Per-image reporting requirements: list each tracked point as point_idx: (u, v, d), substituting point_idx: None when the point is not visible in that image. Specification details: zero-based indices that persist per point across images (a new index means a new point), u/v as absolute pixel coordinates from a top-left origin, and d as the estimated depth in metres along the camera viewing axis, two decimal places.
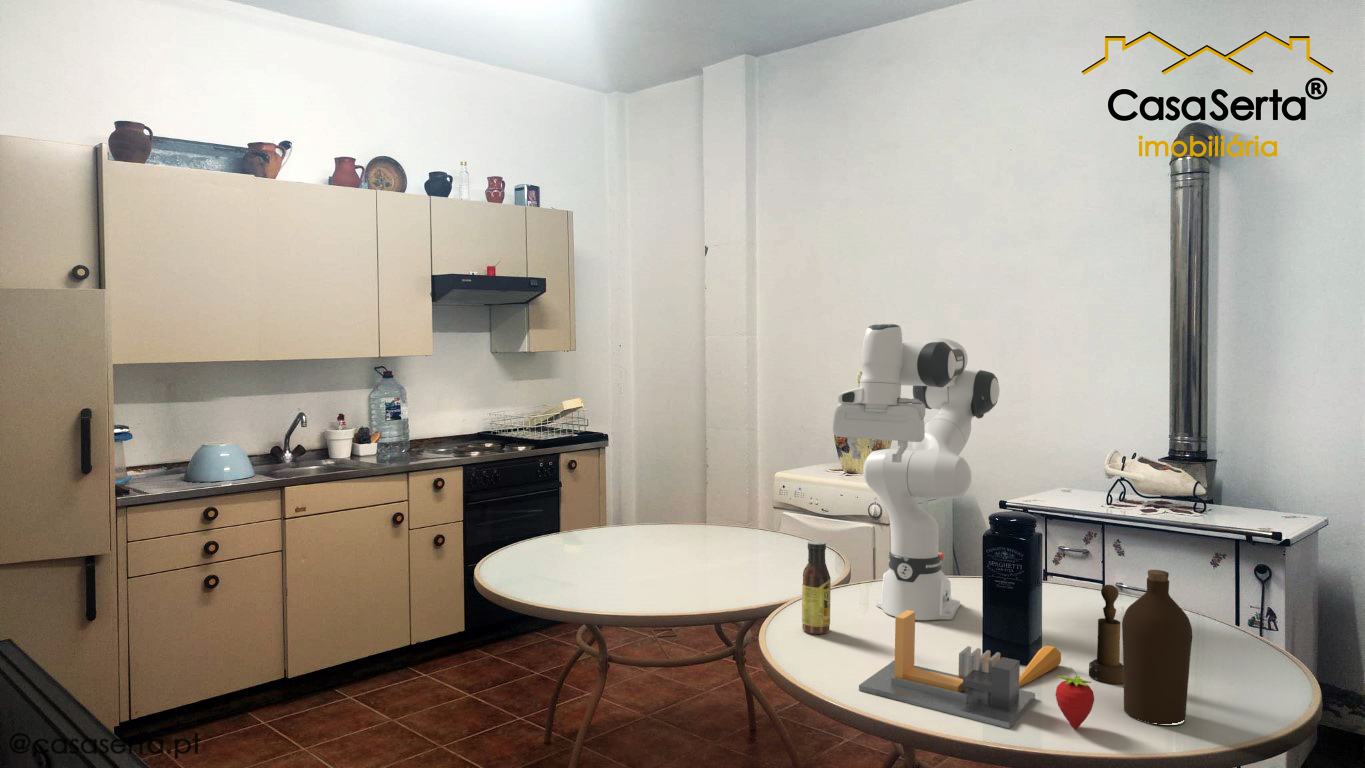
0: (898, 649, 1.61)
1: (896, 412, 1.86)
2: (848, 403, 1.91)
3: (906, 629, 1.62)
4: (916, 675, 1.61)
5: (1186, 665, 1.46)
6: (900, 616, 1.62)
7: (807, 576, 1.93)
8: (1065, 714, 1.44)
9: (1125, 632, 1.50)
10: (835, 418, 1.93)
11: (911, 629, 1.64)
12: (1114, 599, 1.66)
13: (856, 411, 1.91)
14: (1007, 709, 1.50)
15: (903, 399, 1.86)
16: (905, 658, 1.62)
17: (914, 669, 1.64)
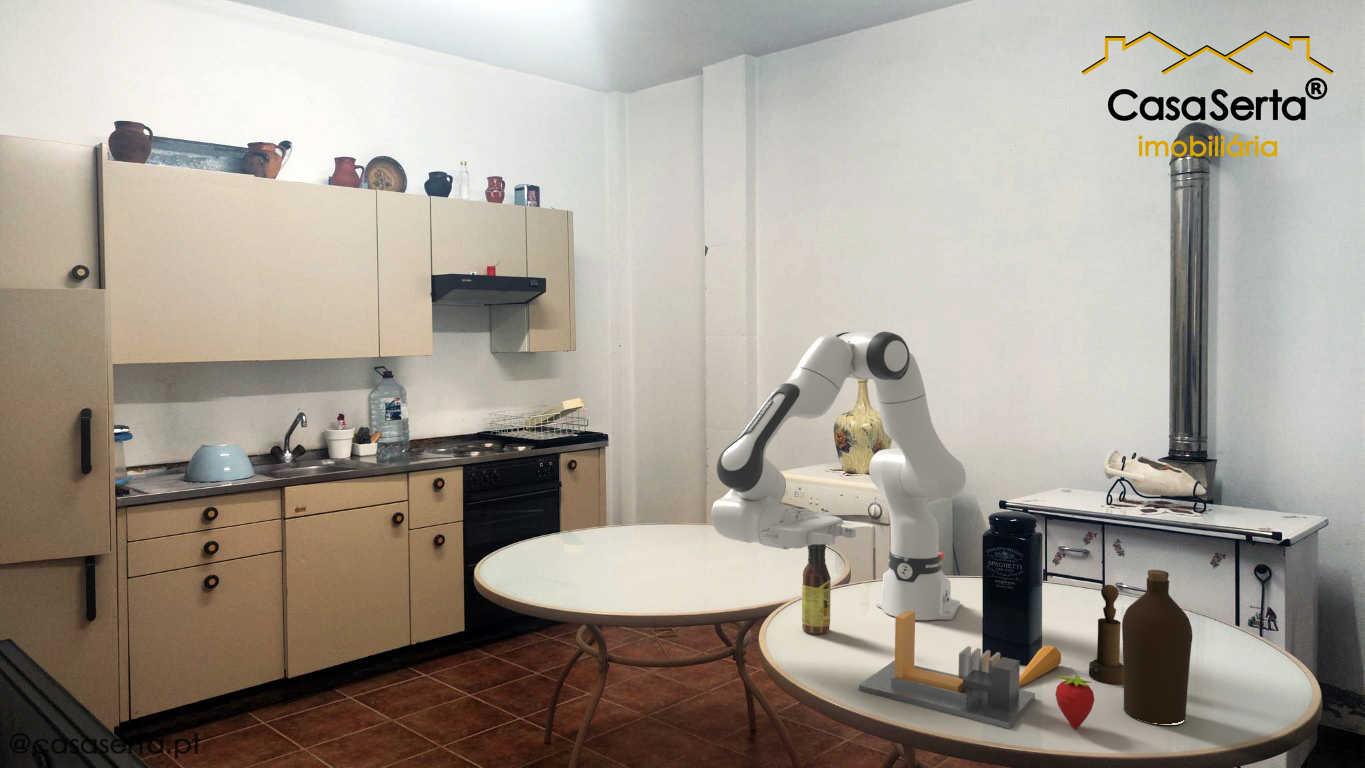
0: (898, 649, 1.61)
1: None
2: None
3: (906, 629, 1.62)
4: (916, 675, 1.61)
5: (1186, 665, 1.46)
6: (900, 616, 1.62)
7: (807, 576, 1.93)
8: (1065, 714, 1.44)
9: (1125, 632, 1.50)
10: None
11: (911, 629, 1.64)
12: (1114, 599, 1.66)
13: None
14: (1007, 709, 1.50)
15: None
16: (905, 658, 1.62)
17: (914, 669, 1.64)
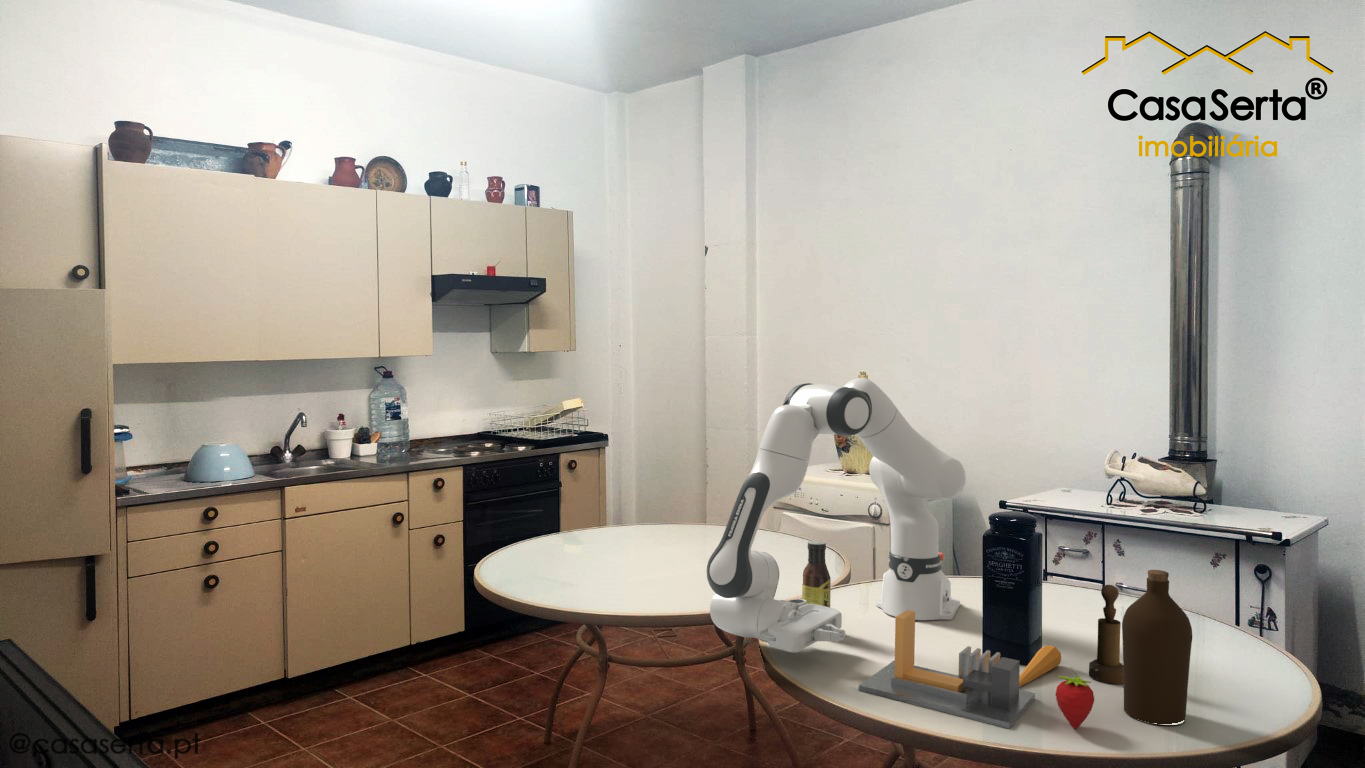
0: (898, 649, 1.61)
1: None
2: None
3: (906, 629, 1.62)
4: (916, 675, 1.61)
5: (1186, 665, 1.46)
6: (900, 616, 1.62)
7: (807, 576, 1.93)
8: (1065, 714, 1.44)
9: (1125, 632, 1.50)
10: None
11: (911, 629, 1.64)
12: (1114, 599, 1.66)
13: None
14: (1007, 709, 1.50)
15: None
16: (905, 658, 1.62)
17: (914, 669, 1.64)
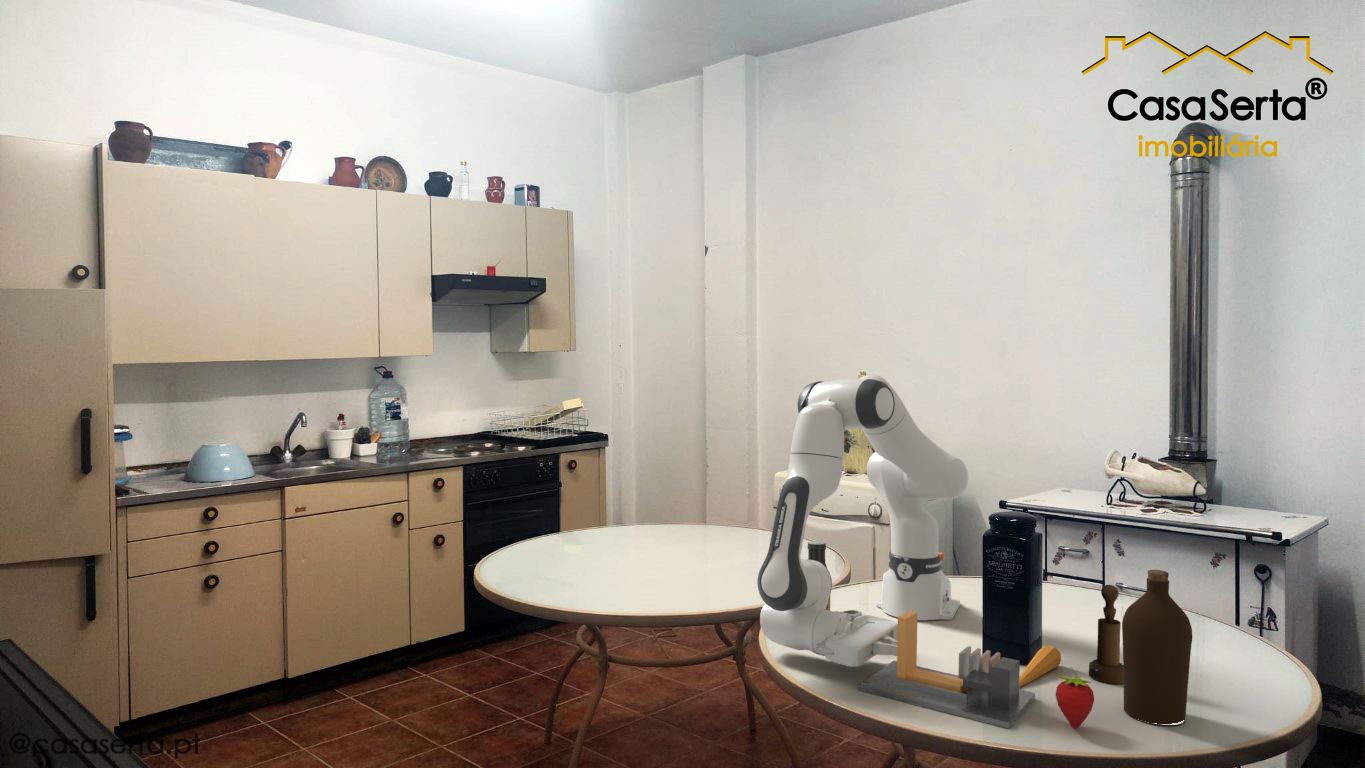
0: (900, 650, 1.61)
1: None
2: None
3: (908, 629, 1.61)
4: (918, 676, 1.61)
5: (1186, 665, 1.46)
6: (902, 616, 1.62)
7: None
8: (1065, 714, 1.44)
9: (1125, 632, 1.50)
10: None
11: (913, 630, 1.64)
12: (1114, 599, 1.66)
13: None
14: (1007, 709, 1.50)
15: None
16: (907, 659, 1.61)
17: (916, 670, 1.64)
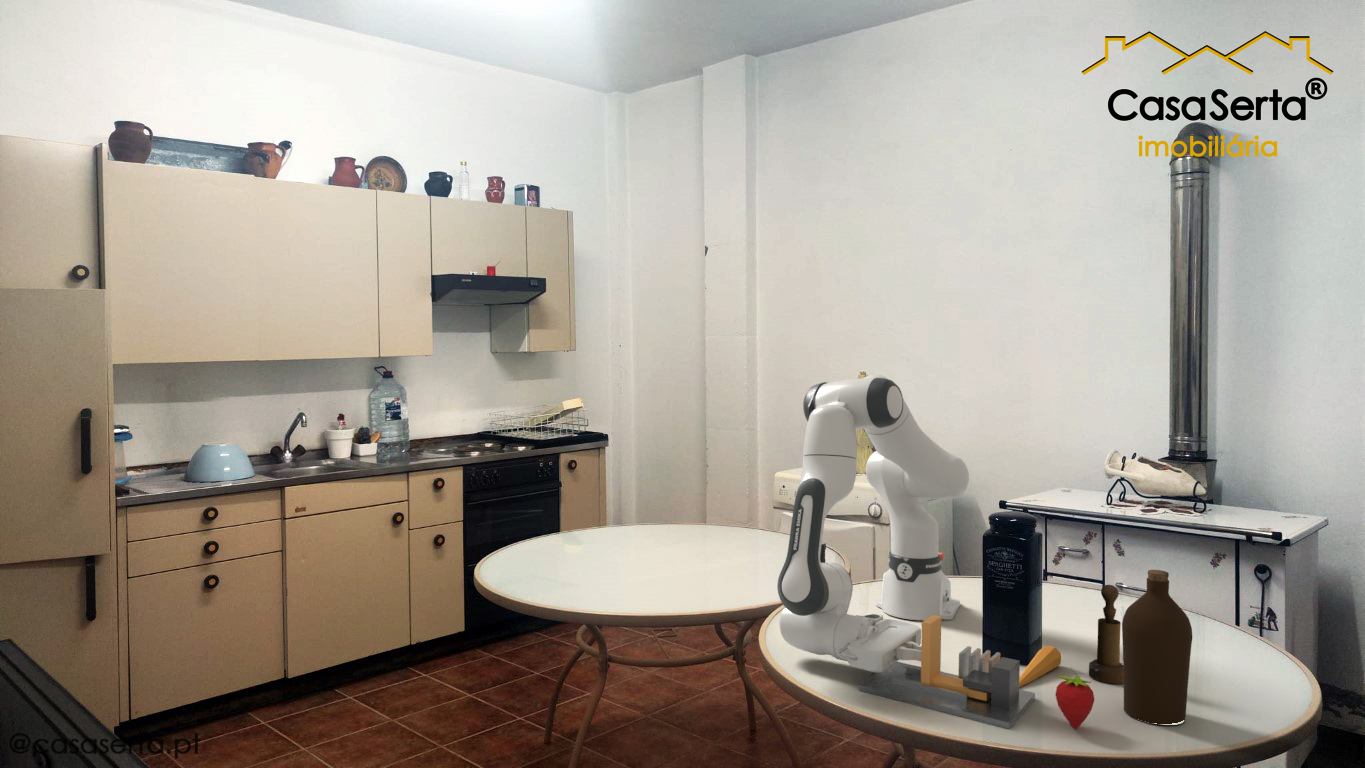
0: (925, 655, 1.58)
1: None
2: None
3: (932, 634, 1.59)
4: (943, 681, 1.58)
5: (1186, 665, 1.46)
6: (926, 621, 1.59)
7: None
8: (1065, 714, 1.44)
9: (1125, 632, 1.50)
10: None
11: (937, 635, 1.61)
12: (1114, 599, 1.66)
13: None
14: (1007, 709, 1.50)
15: None
16: (931, 664, 1.59)
17: (940, 675, 1.61)
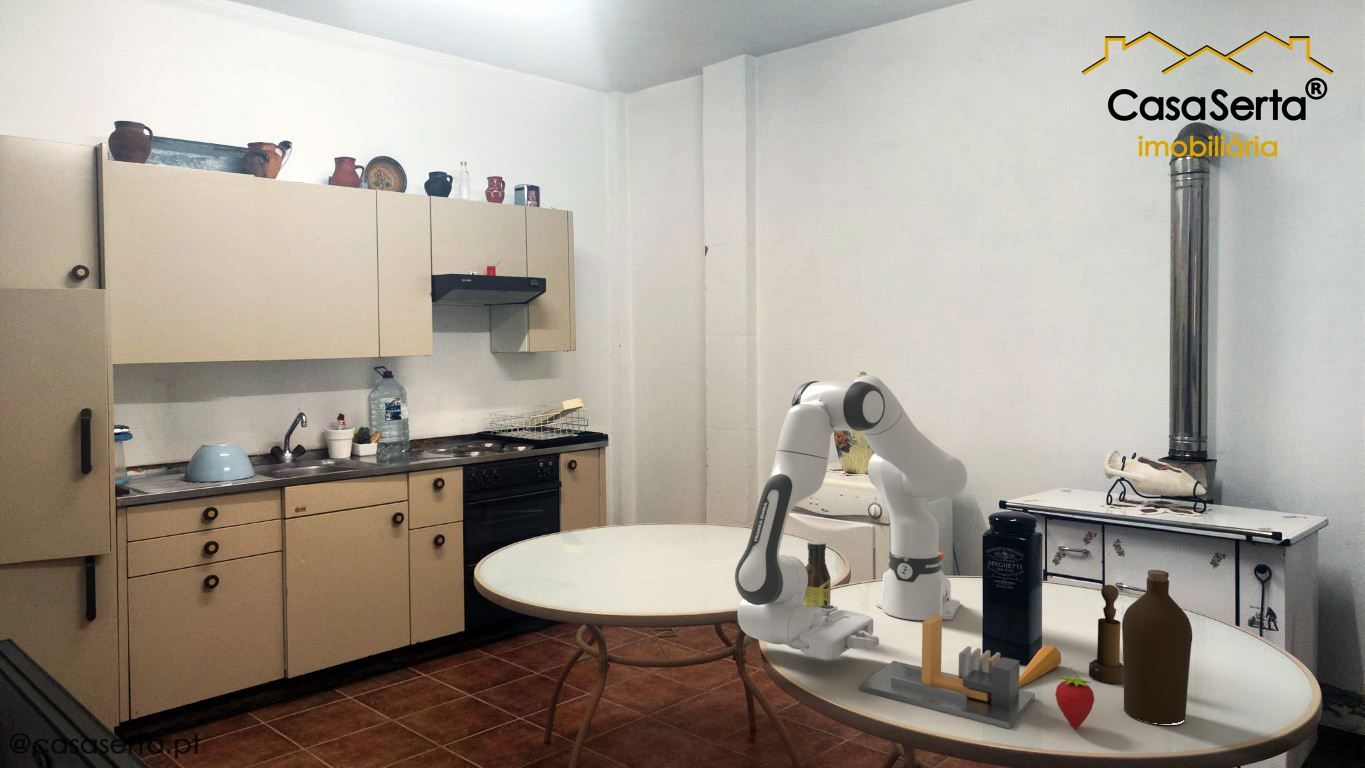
0: (925, 655, 1.58)
1: None
2: None
3: (933, 634, 1.59)
4: (944, 681, 1.58)
5: (1186, 665, 1.46)
6: (927, 621, 1.59)
7: None
8: (1065, 714, 1.44)
9: (1125, 632, 1.50)
10: None
11: (938, 635, 1.61)
12: (1114, 599, 1.66)
13: None
14: (1007, 709, 1.50)
15: None
16: (932, 664, 1.59)
17: (941, 675, 1.61)
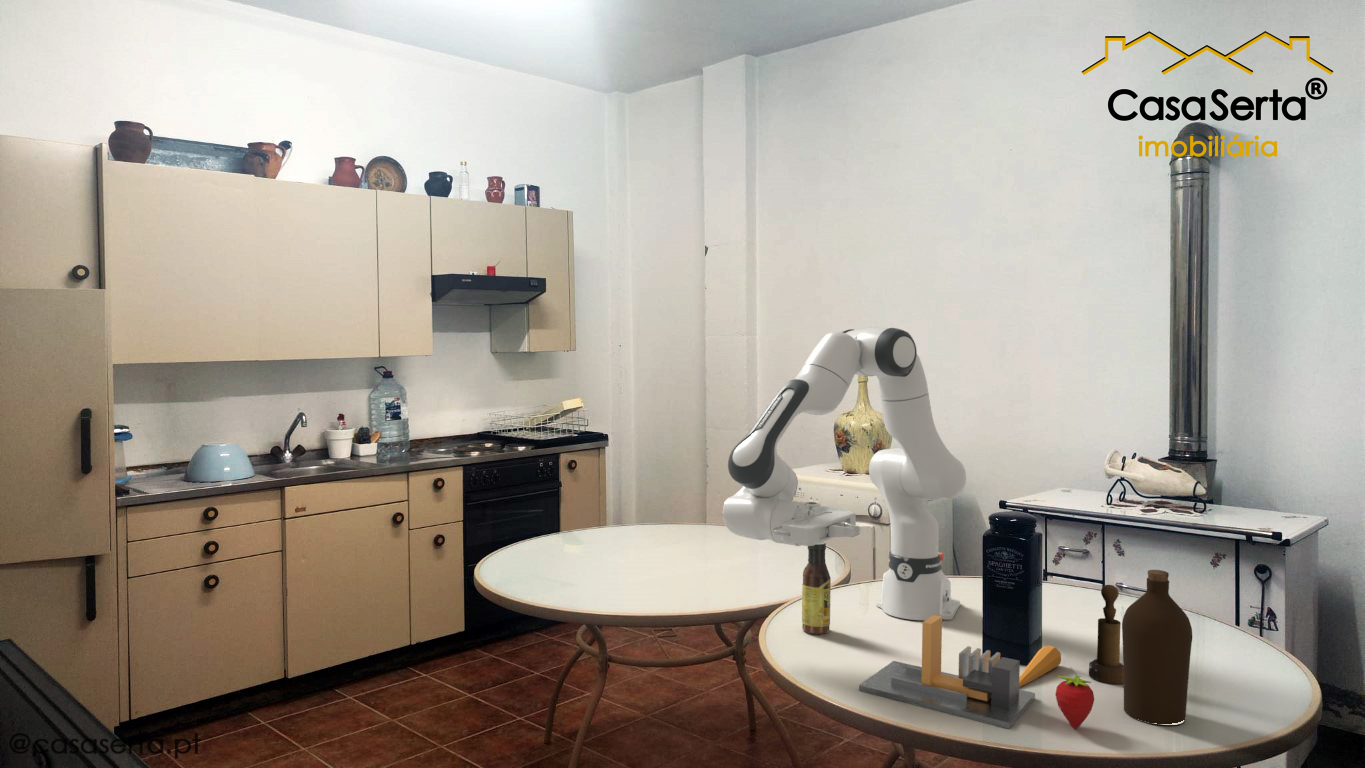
0: (925, 655, 1.58)
1: None
2: None
3: (933, 634, 1.59)
4: (944, 681, 1.58)
5: (1186, 665, 1.46)
6: (927, 621, 1.59)
7: (807, 576, 1.93)
8: (1065, 714, 1.44)
9: (1125, 632, 1.50)
10: None
11: (938, 635, 1.61)
12: (1114, 599, 1.66)
13: None
14: (1007, 709, 1.50)
15: None
16: (932, 664, 1.59)
17: (941, 675, 1.61)
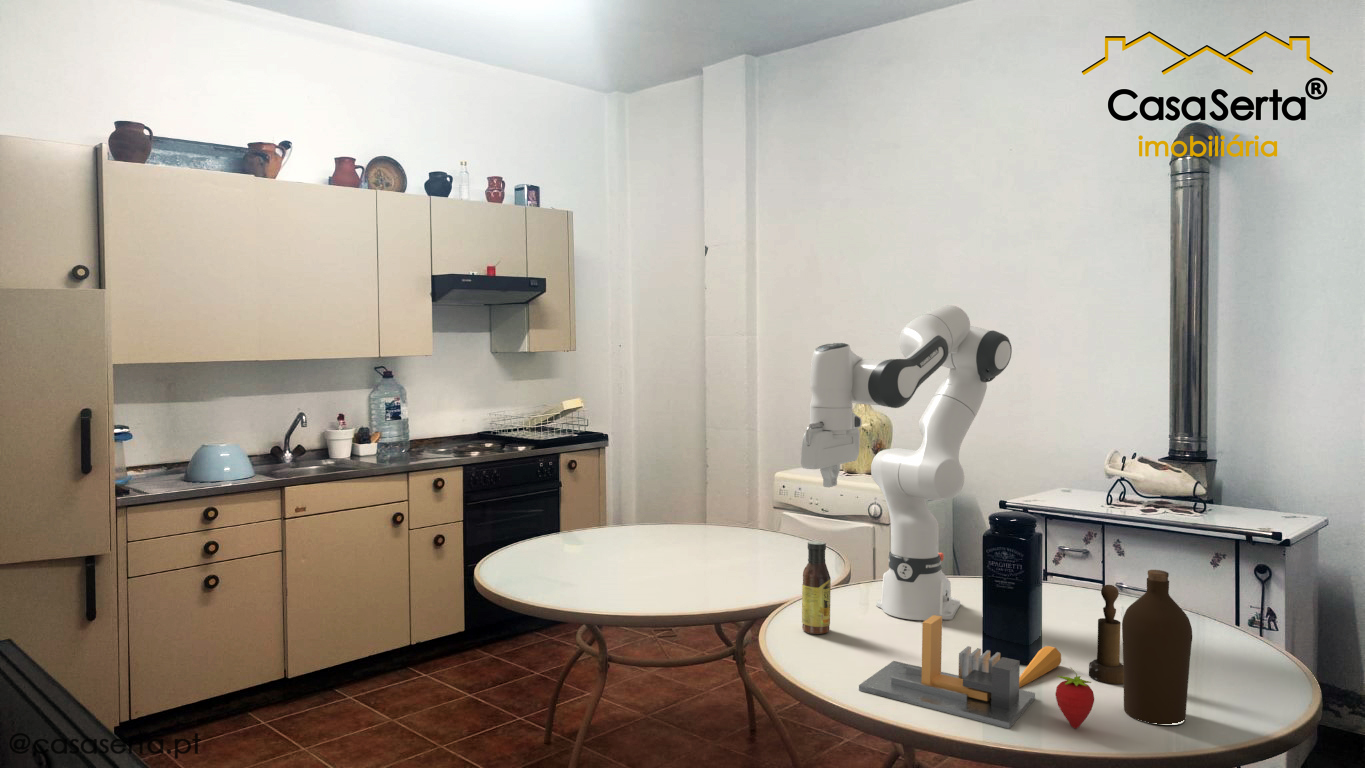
0: (925, 655, 1.58)
1: None
2: None
3: (933, 634, 1.59)
4: (944, 681, 1.58)
5: (1186, 665, 1.46)
6: (927, 621, 1.59)
7: (807, 576, 1.93)
8: (1065, 714, 1.44)
9: (1125, 632, 1.50)
10: None
11: (938, 635, 1.61)
12: (1114, 599, 1.66)
13: None
14: (1007, 709, 1.50)
15: None
16: (932, 664, 1.59)
17: (941, 675, 1.61)
